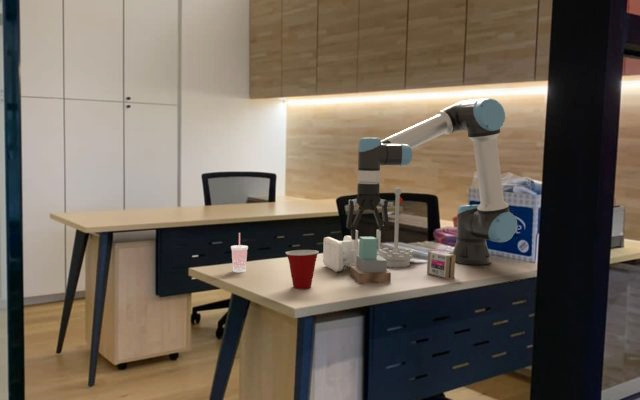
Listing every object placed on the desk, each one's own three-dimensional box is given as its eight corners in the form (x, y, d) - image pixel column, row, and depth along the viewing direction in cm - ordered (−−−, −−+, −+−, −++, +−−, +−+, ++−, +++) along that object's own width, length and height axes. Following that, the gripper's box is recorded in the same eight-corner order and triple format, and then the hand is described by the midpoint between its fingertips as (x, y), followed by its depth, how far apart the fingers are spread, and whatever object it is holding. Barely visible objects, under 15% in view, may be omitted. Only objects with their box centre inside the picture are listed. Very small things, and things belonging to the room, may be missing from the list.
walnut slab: (379, 275, 221) (379, 265, 220) (390, 284, 208) (390, 272, 208) (349, 276, 218) (349, 265, 218) (359, 285, 206) (359, 273, 205)
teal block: (372, 256, 215) (373, 236, 215) (376, 259, 210) (377, 239, 210) (358, 256, 214) (359, 236, 214) (362, 259, 209) (363, 239, 209)
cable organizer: (363, 272, 224) (364, 240, 223) (336, 274, 220) (337, 242, 219) (346, 264, 238) (347, 234, 237) (321, 265, 234) (321, 235, 233)
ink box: (426, 274, 223) (427, 251, 222) (433, 272, 225) (434, 250, 224) (447, 279, 215) (448, 255, 214) (455, 278, 217) (456, 254, 216)
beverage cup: (250, 271, 221) (250, 233, 220) (234, 273, 218) (235, 234, 217) (243, 268, 226) (243, 231, 225) (228, 270, 223) (228, 232, 222)
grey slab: (378, 266, 219) (378, 254, 218) (386, 272, 209) (386, 260, 208) (356, 266, 217) (356, 255, 217) (363, 272, 207) (364, 260, 207)
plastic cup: (305, 281, 208) (305, 246, 206) (324, 288, 199) (325, 251, 198) (278, 285, 201) (278, 249, 200) (297, 292, 192) (298, 255, 191)
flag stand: (404, 268, 231) (406, 189, 228) (373, 264, 238) (375, 187, 235) (417, 263, 242) (420, 187, 239) (387, 259, 249) (389, 185, 246)
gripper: (393, 182, 215) (392, 246, 217) (337, 181, 212) (336, 247, 214) (400, 183, 208) (398, 250, 210) (341, 183, 204) (340, 251, 207)
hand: (366, 248), depth 212 cm, fingers open, 7 cm apart
